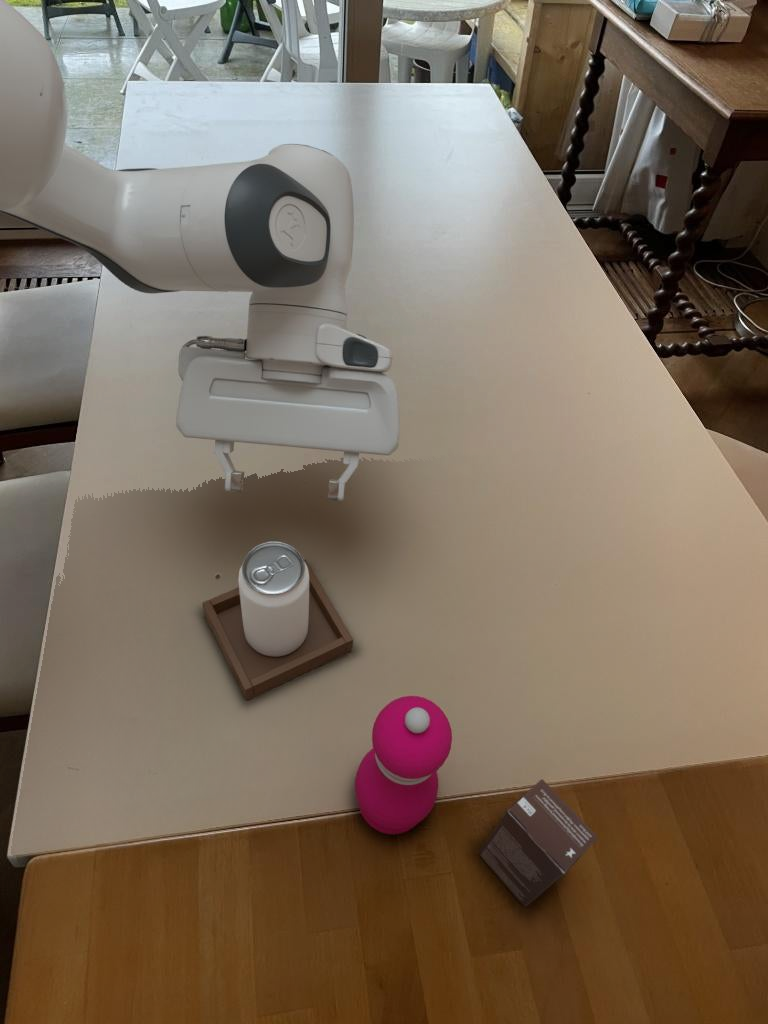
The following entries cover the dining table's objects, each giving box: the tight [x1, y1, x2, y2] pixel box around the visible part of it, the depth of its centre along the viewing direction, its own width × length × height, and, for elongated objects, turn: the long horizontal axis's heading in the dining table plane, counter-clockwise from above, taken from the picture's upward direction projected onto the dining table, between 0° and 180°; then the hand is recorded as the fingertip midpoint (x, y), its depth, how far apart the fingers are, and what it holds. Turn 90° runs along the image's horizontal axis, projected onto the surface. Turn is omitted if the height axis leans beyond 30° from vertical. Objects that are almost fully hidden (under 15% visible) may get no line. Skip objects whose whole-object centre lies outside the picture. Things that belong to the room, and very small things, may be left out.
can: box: [237, 540, 309, 657], centre depth 75 cm, size 6×6×12 cm
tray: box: [201, 559, 354, 701], centre depth 79 cm, size 12×11×2 cm
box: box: [477, 778, 598, 908], centre depth 64 cm, size 6×4×12 cm
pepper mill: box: [354, 695, 453, 835], centre depth 63 cm, size 7×7×20 cm
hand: (284, 495), depth 73 cm, fingers open, 8 cm apart
